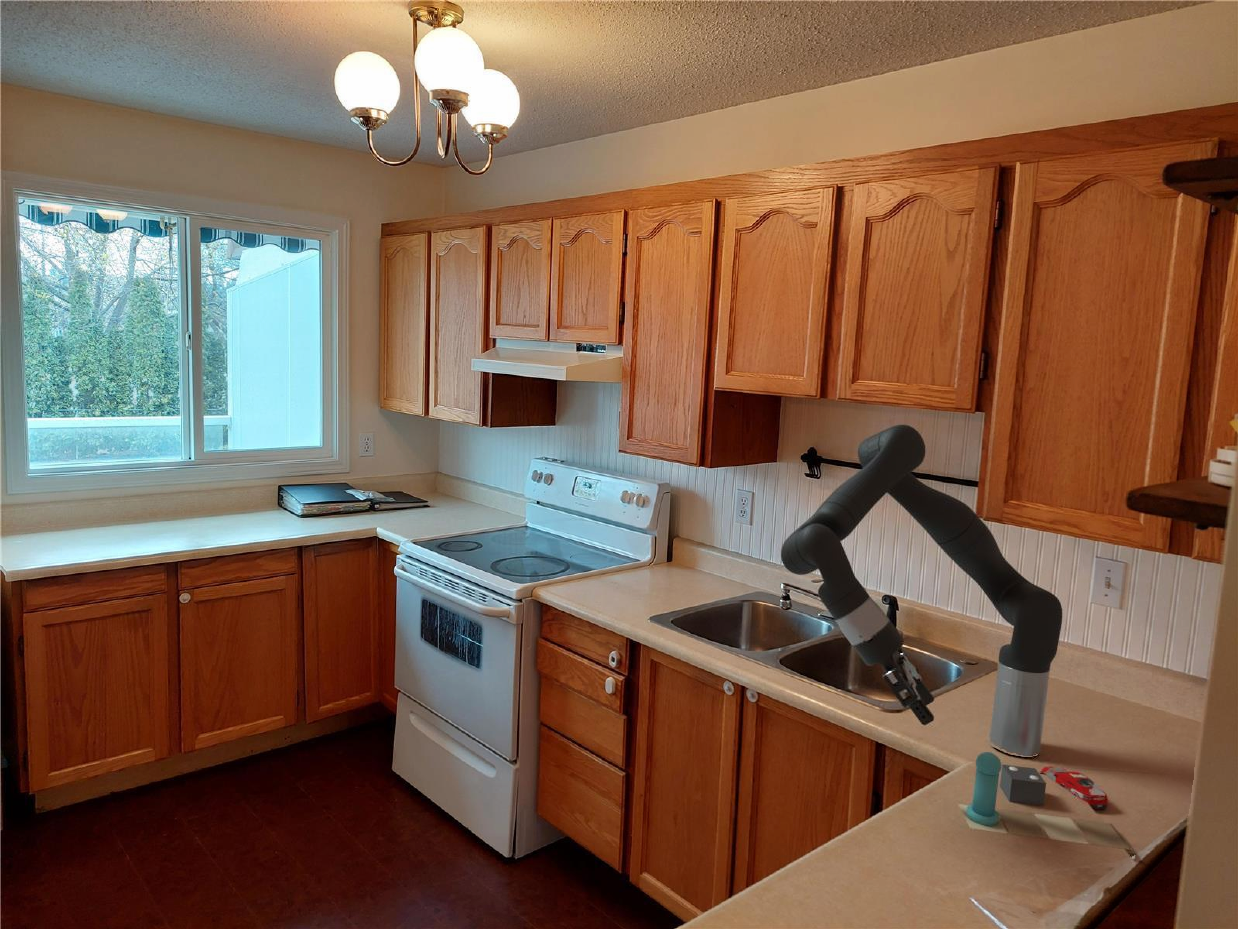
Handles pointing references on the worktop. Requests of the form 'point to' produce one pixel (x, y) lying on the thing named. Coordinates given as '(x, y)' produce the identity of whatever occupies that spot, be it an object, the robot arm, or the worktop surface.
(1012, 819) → the track board
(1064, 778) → the race car
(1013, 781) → the die
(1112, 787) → the worktop surface
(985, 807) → the pawn
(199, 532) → the worktop surface
